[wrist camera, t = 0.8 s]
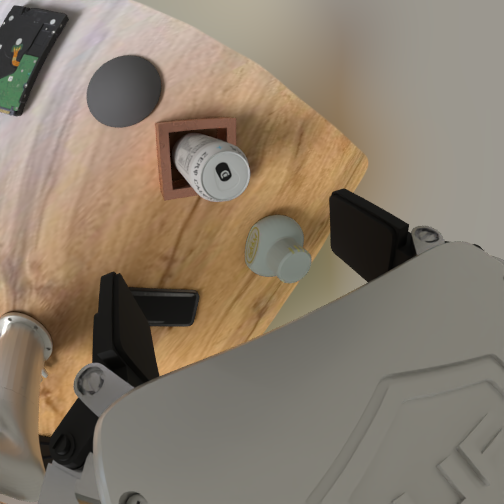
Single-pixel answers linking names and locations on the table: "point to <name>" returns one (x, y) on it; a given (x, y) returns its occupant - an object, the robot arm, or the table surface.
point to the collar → (167, 186)
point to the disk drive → (25, 52)
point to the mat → (123, 91)
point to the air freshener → (277, 249)
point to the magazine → (45, 451)
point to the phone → (167, 305)
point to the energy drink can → (211, 166)
